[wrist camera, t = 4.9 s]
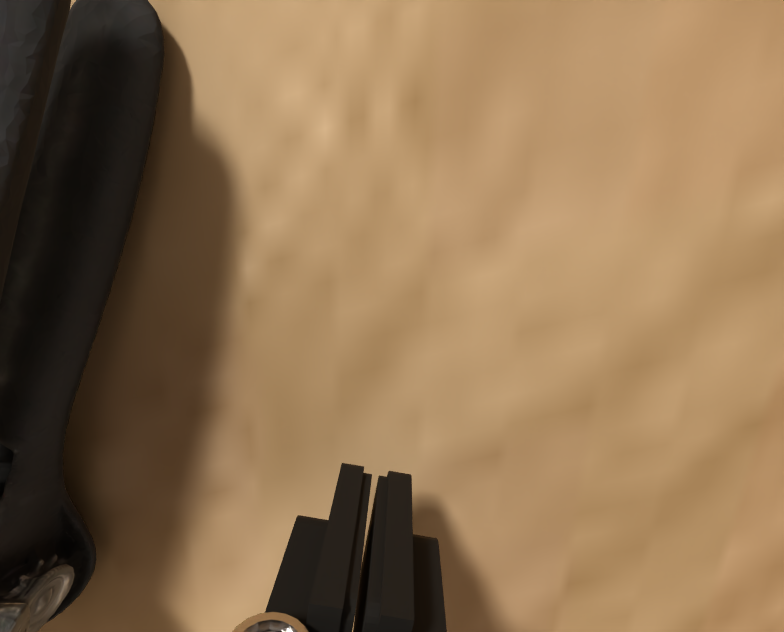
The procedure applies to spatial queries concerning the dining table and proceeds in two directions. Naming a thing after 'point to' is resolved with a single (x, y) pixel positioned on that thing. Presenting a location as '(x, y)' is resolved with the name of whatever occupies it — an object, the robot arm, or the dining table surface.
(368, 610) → the robot arm
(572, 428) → the dining table surface
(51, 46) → the can opener
